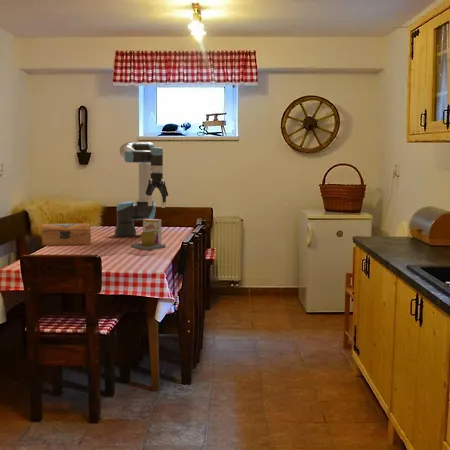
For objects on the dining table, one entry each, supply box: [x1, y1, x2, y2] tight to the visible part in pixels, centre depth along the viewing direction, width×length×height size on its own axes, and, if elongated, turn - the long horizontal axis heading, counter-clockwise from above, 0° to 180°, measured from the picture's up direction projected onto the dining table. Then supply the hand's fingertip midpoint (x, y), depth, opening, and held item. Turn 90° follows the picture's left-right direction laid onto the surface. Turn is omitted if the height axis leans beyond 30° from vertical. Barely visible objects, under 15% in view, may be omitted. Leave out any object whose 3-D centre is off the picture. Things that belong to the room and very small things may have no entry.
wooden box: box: [40, 223, 92, 246], centre depth 386 cm, size 30×16×14 cm, turn 103°
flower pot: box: [140, 231, 155, 247], centre depth 374 cm, size 9×9×9 cm
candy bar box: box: [142, 218, 162, 244], centre depth 392 cm, size 11×5×16 cm, turn 71°
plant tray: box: [130, 242, 167, 251], centre depth 375 cm, size 15×15×2 cm
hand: (156, 206), depth 380 cm, fingers open, 13 cm apart
